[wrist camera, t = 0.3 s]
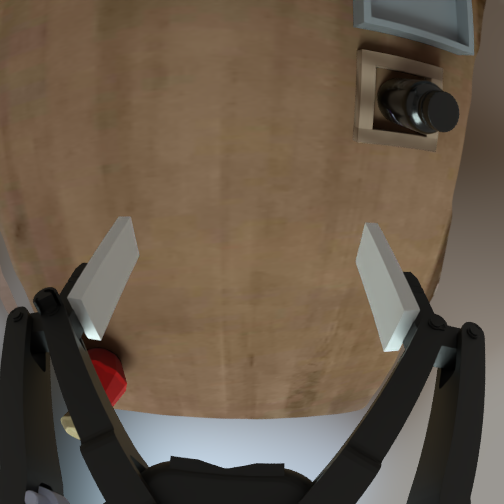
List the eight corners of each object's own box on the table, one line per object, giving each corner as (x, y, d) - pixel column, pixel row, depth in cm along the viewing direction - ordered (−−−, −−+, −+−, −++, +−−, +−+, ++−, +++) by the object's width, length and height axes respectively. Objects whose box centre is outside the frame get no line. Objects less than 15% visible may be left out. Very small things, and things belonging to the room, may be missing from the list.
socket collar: (357, 50, 33) (362, 49, 32) (435, 68, 34) (443, 68, 32) (352, 139, 40) (357, 142, 38) (429, 148, 40) (435, 152, 39)
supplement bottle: (375, 122, 39) (417, 138, 28) (375, 75, 35) (419, 77, 25) (416, 125, 39) (463, 143, 28) (417, 81, 35) (466, 87, 25)
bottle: (100, 329, 57) (68, 409, 40) (145, 367, 63) (127, 446, 46) (64, 351, 61) (34, 419, 44) (105, 384, 67) (85, 451, 50)
